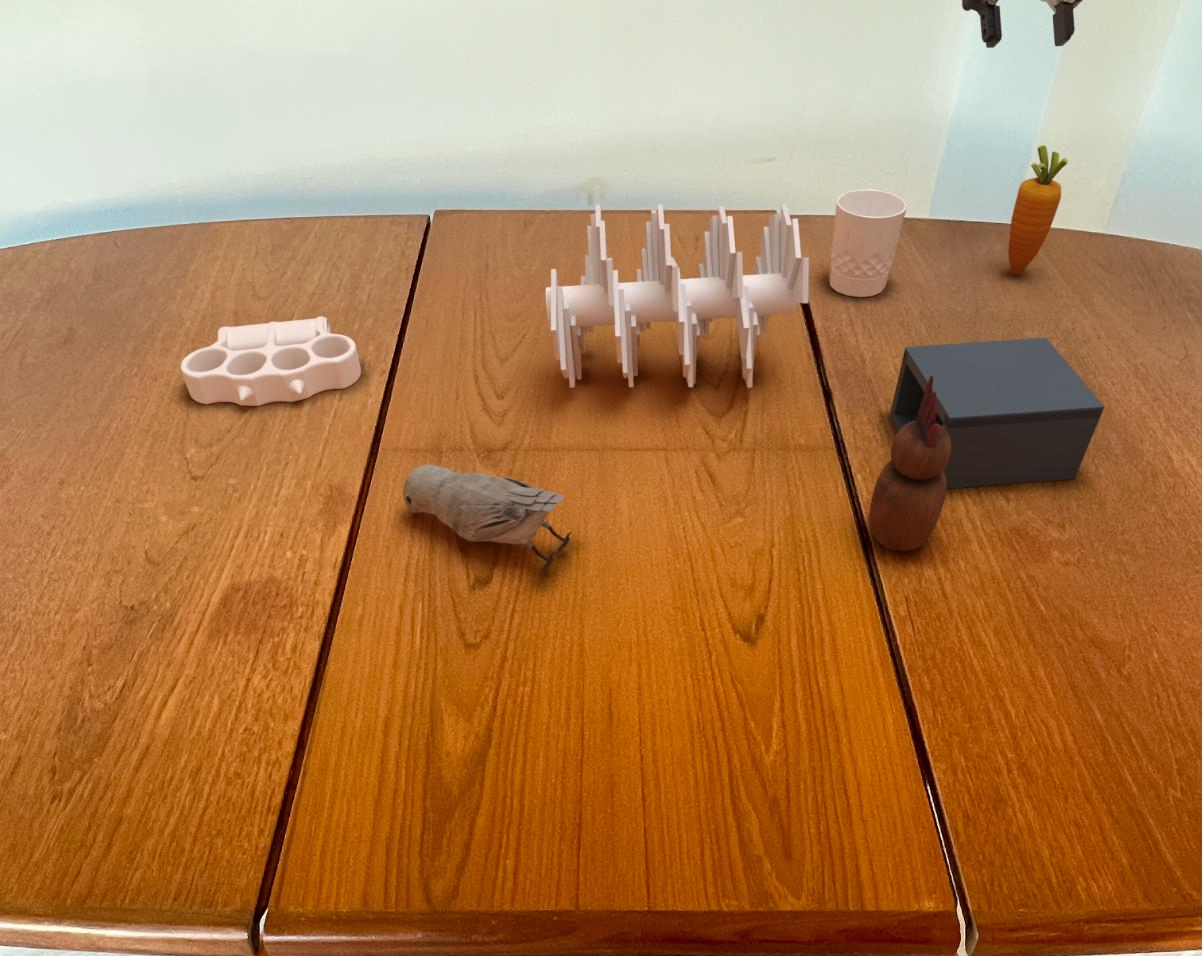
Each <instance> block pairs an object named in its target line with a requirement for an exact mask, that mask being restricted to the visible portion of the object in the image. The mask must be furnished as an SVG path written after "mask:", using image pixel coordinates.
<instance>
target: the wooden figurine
mask: <svg viewBox="0 0 1202 956" xmlns="http://www.w3.org/2000/svg"><path fill="white" fill-rule="evenodd" d="M932 386H933V376H930V378H929V381H928V384H927V387H926V390H925V393H924V396H923V399H922V403H921V406H920V409H919V412H918V415H917V418H916V421H913V422H909V423H907V424H906V425H904V426H903V427H902V428H901V429H900V430H899V431H898V432H897V433H896V434H895V436H894V437H893V441H892V444H891V448H890V460H889V461H888V462H887V463H885V464H884V466H883V468H882V469H881V471H880V473H879V475H878V477H877V479H876V482H875V485H874V489H873V493H872V497H871V502H870V506H869V507H870V508H869V524H870V529H871V533H872V535H873V538H874V539H875V540H876V541H877V542H878V543H879V544H880V545H881V546H882V547H884V548H886V549H888V550H889V551H890V550H891V551H896V552H909V551H913V550H917V549H918V548H919V547H922V545H923V544H924V543H925V542H926V541H927V540H928V539H929V538H930V536H931V534H932V533H933V532H934V531H935V527H936V526H937V524H938V522H939V519H940V516H941V514H942V510H943V506H944V503H945V499H946V495H947V489H946V477H945V474H944V469H945V467H946V465H947V464H948V461H949V458H950V454H951V438H950V436H949V434H948V433H947V431H946V430H945V429H944V428H943V427H942V426H941V425H939V424H936V423H935V422H936V416H937V410H934V408H935V401H936V392H933V394H932Z"/></svg>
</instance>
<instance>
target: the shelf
mask: <svg viewBox="0 0 1202 956" xmlns="http://www.w3.org/2000/svg"><path fill="white" fill-rule="evenodd" d="M930 376H933V386H932V394H933V392H936V401H935V408H934V410H937V416H936V422H935V423H936V424H939V425H941V426H942V427H943V428H944V429H945V430H946V431H947V433H948V434H949V436H950V438H951V454H950V458H949V461H948V464H947V465H946V467H945V469H944V474H945V477H946V490H952V489H963V488H976V487H977V488H979V487H988V486H989V487H990V486H1002V485H1015V484H1027V483H1039V482H1040V483H1042V482H1052V481H1053V482H1054V481H1066V480H1067V481H1068V480H1075V479H1076V477H1077V476H1078V475H1077V474H1078V472H1079V470H1080V467H1081V465H1082V463H1083V460H1084V457H1085V455H1086V453H1087V451H1088V448H1089V446H1090V443H1091V441H1092V438H1093V436H1094V433H1095V431H1096V429H1097V426H1098V424H1099V421H1100V419H1101V416H1102V414H1103V412H1104V409H1105V405H1104V404H1103V403H1102V401H1101V400H1100V399H1099V398H1098V397H1097V395H1095V394H1094V392H1093V391H1092V390H1091V388H1090V387H1089V386H1088V385H1087V384H1086V383H1085V381H1084V380H1083V379H1082V378H1081V376H1079V375H1078V373H1077V372H1076V371H1075V369H1074V368H1073V367H1072V365H1070V364H1069V363H1068V361H1066V359H1065V358H1064V356H1062V354H1061V353H1060V352H1059V351H1058V349H1057V348H1056V347H1055V346H1054V344H1053V343H1052V342H1051V341H1050V340H1049V339H1048V338H1047V337H1031V338H1019V339H1003V340H1002V339H1001V340H989V341H975V342H974V341H973V342H960V343H959V342H958V343H944V344H929V345H915V346H905V347H904V351H903V356H902V359H901V366H900V369H899V374H898V378H897V382H896V387H895V390H894V395H893V399H892V403H891V408H890V412H889V416H888V418H889V420H890V421H891V423H892V426H893V427H894V429H895V431H896V432H897V433H898V431H899V430H900V429H901V428H902V427H903V426H904V425H906V424H907V423H909V422H913V421H916V418H917V415H918V412H919V409H920V406H921V403H922V399H923V396H924V393H925V390H926V387H927V384H928V381H929V378H930Z"/></svg>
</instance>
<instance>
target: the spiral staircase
mask: <svg viewBox="0 0 1202 956" xmlns="http://www.w3.org/2000/svg"><path fill="white" fill-rule="evenodd" d="M594 206H595V213H590V225H587V247H588V248H587V249H588V254H585V275H581V276H580V284H577V285H562V286H559V280H558V272H557V268H551V269H550V286H547V287H545V308H546V309H545V310H546V319H547V325H548V329H550V333H551V340H552V347H553V354H554V360H555V361H558V360H560V362H559V363H560V371H561V374H562V376H563V378H564V379H568V382H569V383H568V384H569V388H570V389H571V388H575V387H576V380H582V378H583V376H582V374H583V373H582V354H585V353H586V341H585V339H586V338H585V335H587V334H588V333H593V332H594V327H598V326H599V327H600V326H613V325H614V334H615V350H616V351H615V353H616V363H617V364H622V378H623V379H628V388H634V387H635V386H634V377H638V376H639V367H638V366H639V365H638V347H641V333H646V330H651V329H652V328H651V323H664V322H665V323H666V322H675V324H676V334H677V335H676V337H677V346H678V347H677V348H678V355H679V356H681V361H682V362H681V363H682V364H681V365H682V378H685V380H686V384H687V387H688V388H694V385H696V382H697V381H696V380H697V377H696V376H697V356H698V351H699V344H700V339H701V338H702V337H705V336H709V335H710V322H713V320H715V319H732V318H735V320H736V327H737V328H736V329H737V334H738V335H737V336H738V343H739V344H738V345H739V352H740V359H741V371H742V372H741V373H742V379H744V382H745V385H746V387H747V389H749V388H753V375H754V365H755V358H756V357H755V355H756V347H757V342H758V340H759V338H760V336H761V335H763V334H765V333H768V325H769V324H768V323H769V318H771V316H784V315H795V313H796V310H797V304H798V303H800V304H809V279H810V278H809V273H810V272H809V270H810V266H809V265H810V257H802V252H801V251H802V250H801V238H800V230H799V229H800V228H799V218H792V219H791V216H790V212H789V208H788V205H787V204H786V203H785V204H784V203H783V204H781V205H780V213H773V214H770V215H768V226H764V227H763V230H762V236H761V240H760V245H759V256H755V263H754V274H743V273H744V272H743V271H744V270H743V269H744V268H743V264H744V263H743V251H736V243H735V230H734V229H735V228H734V219H733V215H726V210H725V206H724V205H718V215H717V214H716V215H711V217H710V219H709V230H708V231H704V236H703V237H704V238H703V247H702V248H703V250H702V263H698V277H695V278H693V277H692V278H681V270H680V266H678V264H677V262H676V260H675V258H674V256H672V250H671V232H670V230H671V229H670V223H665V217H664V216H665V215H664V206H663V203H658V204H657V210H656V209H651V210H650V221H646V222H645V242H646V243H645V244H646V248H641V262H642V263H641V266H642V268H636V281H629V282H619V269H614V259H613V257H608V247H607V235H606V234H607V233H606V222H605V220H602V207H601V204H595V205H594Z"/></svg>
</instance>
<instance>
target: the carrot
mask: <svg viewBox="0 0 1202 956" xmlns="http://www.w3.org/2000/svg"><path fill="white" fill-rule="evenodd" d="M1037 154H1038V158H1039V164H1037V163H1034V162H1032V164H1030V166H1031V168H1032V170H1033V171H1034V174H1035V175H1036V177H1033V178H1029V179H1025V180H1023V181H1022V182H1021V184H1020V186H1019V188H1018V191H1017V195H1016V199H1015V202H1014V207H1013V210H1012V211H1013V212H1012V216H1011V220H1010V228H1009V237H1008V248H1007V249H1008V250H1007V252H1008V262H1009V263H1008V264H1009V266H1010V271H1011V273H1012V274H1013V276H1017V275H1020V274H1021V273H1022V272H1024V270H1025V269H1026V268H1028V266H1029V265H1030V264H1031V263H1032V261H1034V259H1035V258H1036V256H1037V255H1038V254H1039V252H1040V250H1041V248H1042V246H1043V244H1044V242H1045V240H1046V238H1047V236H1048V235H1049V232H1050V231H1051V227H1052V225H1053V222H1054V219H1055V217H1056V214H1057V211H1058V208H1059V205H1060V202H1061V199H1062V185H1061V184H1060V183H1059V182H1057V181H1056V180H1053V179H1054V178H1055V177H1056V176H1057V175H1058V173H1059V172H1060V171H1061V170H1062V169H1063V168H1064V167H1065V166H1067V165H1068V163H1069V160H1068V159H1067V158H1065V157H1064V158H1062V159H1061V160H1060V153H1058V152H1057V151H1052V152H1051V158H1050V161H1049V154H1048V150H1047V146H1046V145H1044V144H1040V145H1039V146H1038V147H1037ZM1059 160H1060V161H1059ZM1049 162H1050V165H1049Z"/></svg>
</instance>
